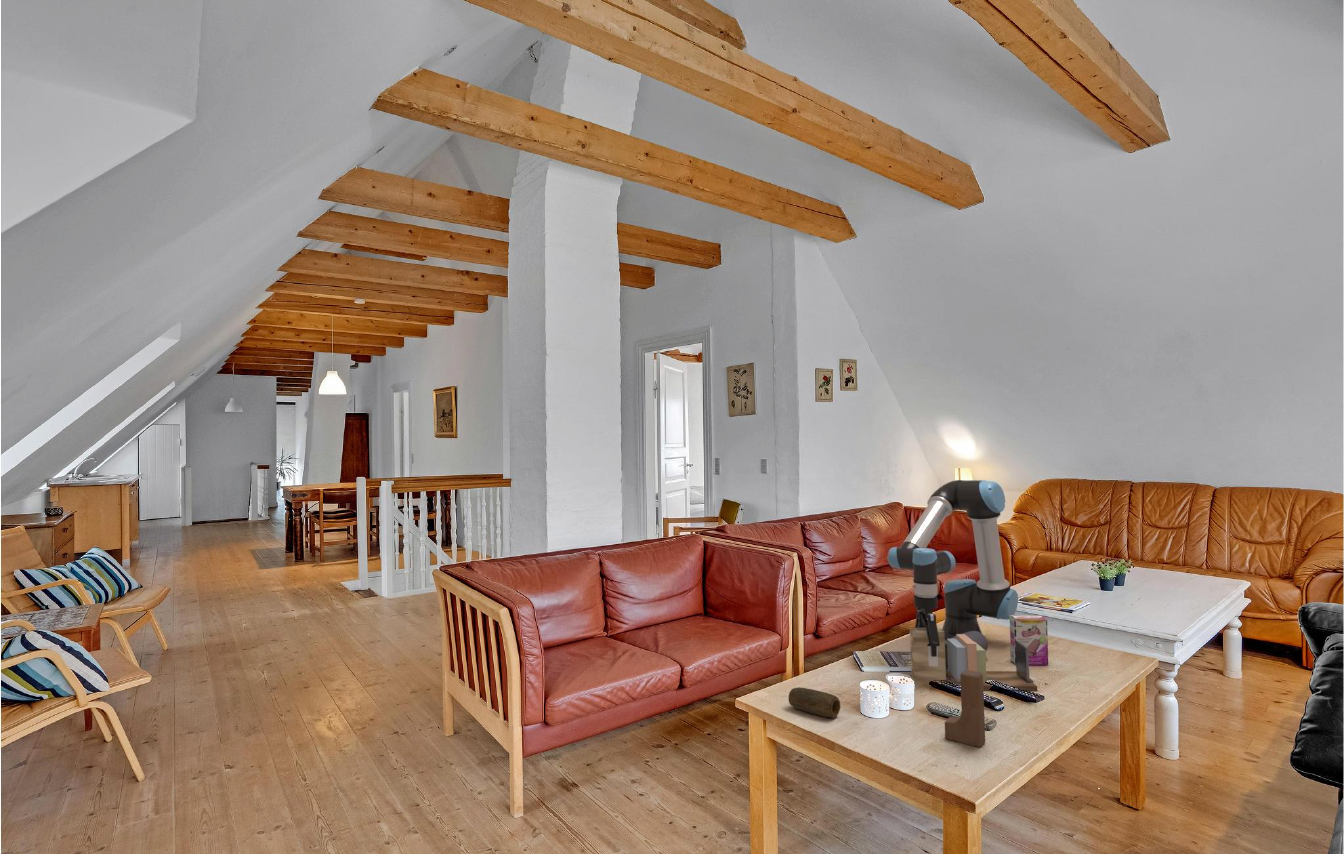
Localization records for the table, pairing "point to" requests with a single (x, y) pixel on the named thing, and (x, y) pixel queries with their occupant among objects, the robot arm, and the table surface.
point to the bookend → (1022, 662)
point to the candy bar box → (1030, 637)
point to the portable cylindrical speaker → (814, 702)
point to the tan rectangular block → (926, 656)
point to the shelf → (1001, 680)
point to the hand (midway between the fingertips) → (927, 659)
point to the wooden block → (969, 712)
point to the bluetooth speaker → (974, 637)
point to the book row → (965, 656)
